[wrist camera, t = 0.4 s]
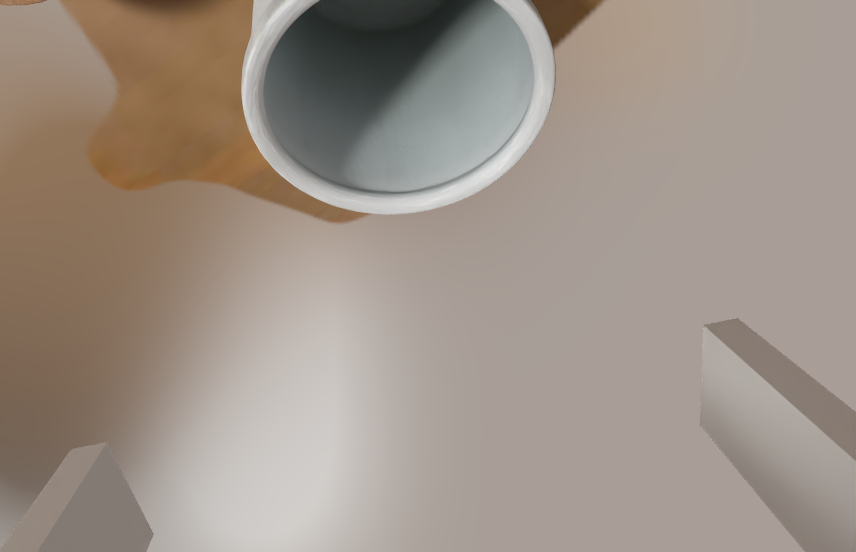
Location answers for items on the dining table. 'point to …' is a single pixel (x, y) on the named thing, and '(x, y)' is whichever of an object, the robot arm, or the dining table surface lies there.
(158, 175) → the dining table surface
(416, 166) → the utensil holder
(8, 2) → the lidded jar
